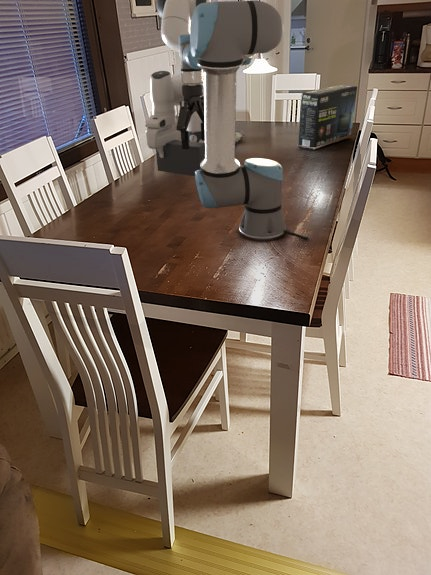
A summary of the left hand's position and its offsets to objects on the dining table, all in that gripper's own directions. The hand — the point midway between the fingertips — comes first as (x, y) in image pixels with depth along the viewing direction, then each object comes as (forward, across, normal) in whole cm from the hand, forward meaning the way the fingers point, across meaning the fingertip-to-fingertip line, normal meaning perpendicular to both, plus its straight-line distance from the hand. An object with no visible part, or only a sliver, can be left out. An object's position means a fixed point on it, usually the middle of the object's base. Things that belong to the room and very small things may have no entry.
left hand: (167, 154), depth 182 cm
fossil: (+14, -80, -17) cm, 83 cm away
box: (+6, 0, +7) cm, 9 cm away
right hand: (-5, 0, +13) cm, 14 cm away
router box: (+14, -96, +34) cm, 103 cm away
